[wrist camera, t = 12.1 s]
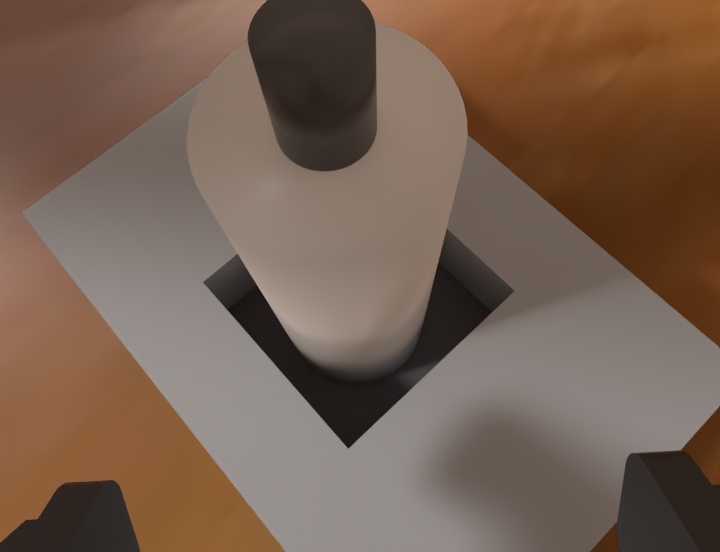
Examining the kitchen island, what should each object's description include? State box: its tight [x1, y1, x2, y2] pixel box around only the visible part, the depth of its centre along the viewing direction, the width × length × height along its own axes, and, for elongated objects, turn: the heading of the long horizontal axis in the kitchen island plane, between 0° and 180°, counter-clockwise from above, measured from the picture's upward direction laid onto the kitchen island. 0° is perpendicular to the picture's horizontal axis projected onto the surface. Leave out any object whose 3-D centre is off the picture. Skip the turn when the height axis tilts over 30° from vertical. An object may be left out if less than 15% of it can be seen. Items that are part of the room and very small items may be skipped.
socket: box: [21, 77, 720, 552], centre depth 18 cm, size 18×12×3 cm, turn 42°
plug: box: [187, 0, 468, 384], centre depth 13 cm, size 4×4×13 cm
